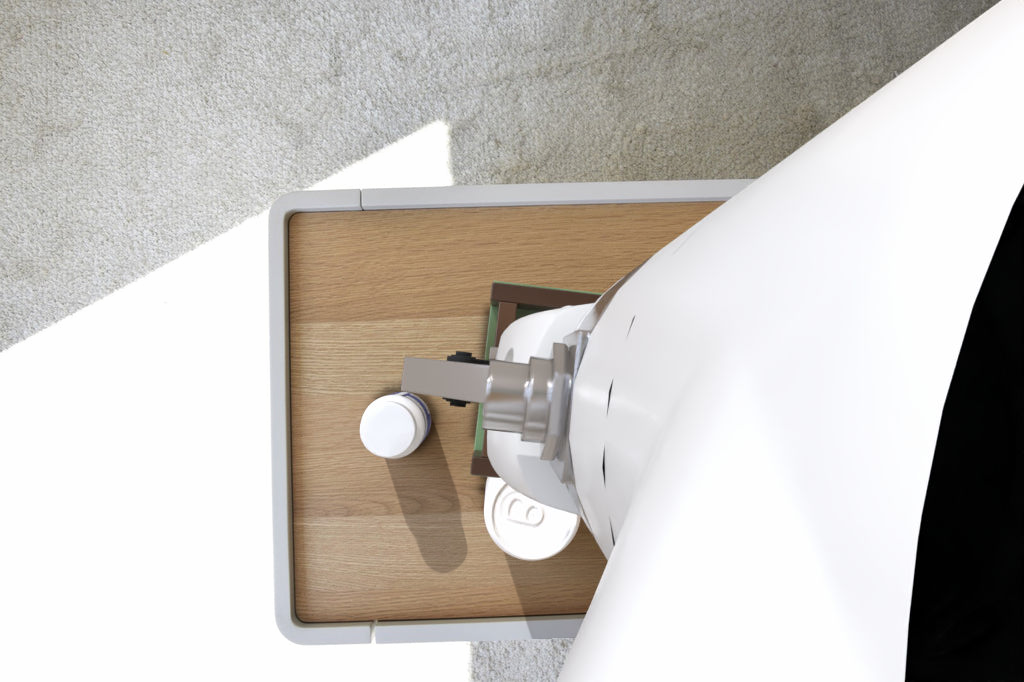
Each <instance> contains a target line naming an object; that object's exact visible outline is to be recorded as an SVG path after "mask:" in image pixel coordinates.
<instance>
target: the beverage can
mask: <svg viewBox="0 0 1024 682" xmlns="http://www.w3.org/2000/svg"><path fill="white" fill-rule="evenodd" d="M483 504H484V505H483V517H484V524H485V527H486V531H487V532H488V534H489V536H490V538H491V539H492V541H493V542H494V543H495V545H496V546H497V547H498V548H499V549H500V550H501V551H503V552H504V553H506V554H507V555H509V556H510V557H513V558H516V559H519V560H522V561H530V562H531V561H533V562H534V561H535V562H536V561H542V560H546V559H549V558H551V557H553V556H555V555H558V554H559V553H561V552H562V551H563V550H565V549H566V548H567V546H569V544H571V542H572V540H573V539H574V538H575V536H576V534H577V532H578V529H579V527H580V524H581V518H582V517H581V516H580V515H576V514H572V513H569V512H565V511H562V510H559V509H555V508H552V507H549V506H546V505H543V504H541V503H538V502H536V501H534V500H532V499H530V498H528V497H526V496H524V495H522V494H521V493H519V492H517V491H515V490H514V489H512V488H511V487H510V486H509V485H508V484H506V483H505V482H504V481H503V480H502V479H501V478H493V477H486V482H485V492H484V503H483Z"/></svg>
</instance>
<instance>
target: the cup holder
mask: <svg viewBox="0 0 1024 682" xmlns="http://www.w3.org/2000/svg"><path fill="white" fill-rule="evenodd" d="M490 290H491V291H490V296H489V297H490V308H489V316H488V324H487V332H486V333H487V334H486V341H485V350H484V357H483V358H484V359H483V360H488V359H489V350H490V347H499V343H500V339H501V336H502V334H503V332H504V331H505V330H506V329H507V328H508V327H509V325H510V324H512V323H513V322H515V321H516V320H518V319H520V318H522V317H525V316H528V315H531V314H534V313H538V312H543V311H548V310H553V309H559V308H562V307H565V306H577V305H584V304H591V303H595V302H596V301H597V300H598V299H599V298H600V297H601V296H602V295H603V294H604V293H605V292H595V291H585V290H577V289H569V288H560V287H551V286H543V285H534V284H525V283H518V282H508V281H499V280H493V282H491V289H490ZM489 361H490V360H489ZM482 411H483V403H478V411H477V412H478V413H477V420H476V429H475V437H474V445H473V453H472V456H471V463H470V472H469V473H470V475H471V476H475V477H485V478H488V477H493V478H500V476H499V475H498V474H497V473H496V471H495V470H494V468H493V467H492V465H491V462H490V460H489V458H488V454H487V430H483V429H482V424H483V416H482Z"/></svg>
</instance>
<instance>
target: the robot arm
mask: <svg viewBox="0 0 1024 682" xmlns="http://www.w3.org/2000/svg"><path fill="white" fill-rule="evenodd" d="M603 293H604V294H603V295H602V296H601V297H600V298H599V299H598V300H597V301H596V302H595V303H591V304H584V305H577V306H565V307H562V308H559V309H553V310H548V311H543V312H538V313H534V314H531V315H528V316H525V317H522V318H520V319H518V320H516V321H515V322H513V323H512V324H510V325H509V327H508V328H507V329H506V330H505V331H504V332H503V334H502V336H501V339H500V343H499V347H490V350H489V359H488V360H484V359H482V358H481V359H480V358H477V357H476V356H473V352H469V351H462V350H461V351H460V350H456V351H455V354H450V355H446V360H443V359H436V358H435V359H434V358H423V357H417V356H416V357H415V356H406V355H405V356H404V359H403V367H402V377H401V385H400V392H408V393H412V394H420V395H425V396H432V397H438V398H441V399H442V400H443V401H444V400H445V402H449V406H450V407H455V408H466V407H467V405H470V404H472V403H473V404H479V403H483V411H482V416H483V424H482V429H483V430H487V454H488V458H489V460H490V462H491V465H492V467H493V468H494V470H495V471H496V473H497V474H498V475H499V476H500V478H501V479H502V480H503V481H504V482H505V483H506V484H508V485H509V486H510V487H511V488H512V489H514V490H515V491H517V492H519V493H521V494H522V495H524V496H526V497H528V498H530V499H532V500H534V501H536V502H538V503H541V504H543V505H546V506H549V507H552V508H555V509H559V510H562V511H565V512H569V513H572V514H576V515H580V516H581V518H582V520H583V522H584V524H585V525H586V527H587V529H588V530H589V532H590V534H591V535H592V537H593V539H594V540H595V542H596V544H597V545H598V547H599V549H600V551H601V552H602V554H603V555H604V557H605V559H606V560H607V563H606V566H605V567H604V571H603V573H602V575H601V577H600V580H599V582H598V585H597V587H596V590H595V592H594V595H593V598H592V600H591V602H590V605H589V606H588V610H587V611H586V614H585V616H584V617H583V620H582V622H581V625H580V627H579V629H578V631H577V634H576V636H575V638H574V640H573V644H572V645H571V647H570V650H569V652H568V655H567V656H566V659H565V661H564V663H563V665H562V668H561V670H560V672H559V675H558V677H557V679H556V681H555V682H1024V0H1000V1H998V2H997V3H995V4H994V5H993V6H992V7H990V8H989V9H987V10H986V11H985V12H983V13H982V14H980V15H979V16H978V17H976V18H975V19H974V20H972V21H971V22H970V23H968V24H967V25H966V26H964V27H963V28H961V29H960V30H959V31H957V32H956V33H954V34H953V35H952V36H950V37H949V38H948V39H946V40H945V41H943V42H942V43H941V44H940V45H938V46H937V47H935V48H934V49H933V50H932V51H930V52H929V53H927V54H926V55H925V56H923V57H922V58H920V59H919V60H918V61H916V62H915V63H914V64H912V65H911V66H910V67H908V68H907V69H905V70H904V71H903V72H901V73H900V74H899V75H897V76H896V77H894V78H893V79H892V80H890V81H889V82H887V83H886V84H885V85H884V86H882V87H881V88H879V89H878V90H877V91H876V92H874V93H873V94H871V95H870V96H869V97H867V98H865V100H863V101H862V102H860V103H859V104H858V105H856V106H855V107H854V108H852V109H851V110H849V111H848V112H846V113H845V114H844V115H843V116H841V117H840V118H839V119H836V121H834V122H833V123H832V124H830V125H829V126H828V127H827V128H824V130H822V131H821V132H819V133H818V134H817V135H816V136H814V137H812V138H811V139H810V140H808V141H807V142H806V143H804V144H803V145H802V146H800V147H799V148H798V149H796V150H795V151H794V152H792V153H791V154H789V155H788V156H786V157H785V158H784V159H783V160H782V161H780V162H778V163H777V164H776V165H775V166H773V167H771V168H770V169H769V170H768V171H766V172H765V173H763V174H762V175H761V176H760V177H758V178H757V179H755V180H754V181H753V182H752V183H750V184H748V185H747V186H746V187H745V188H742V189H741V190H740V191H739V192H737V193H736V194H735V195H734V196H732V197H730V198H729V199H728V200H726V201H725V202H724V203H722V204H721V205H719V206H718V207H717V208H715V209H714V210H713V211H711V212H710V213H708V214H707V215H706V216H705V217H703V218H702V219H701V220H699V221H698V222H696V223H695V224H693V225H692V226H691V227H690V228H688V229H687V230H685V231H684V232H683V233H681V234H680V235H679V236H677V237H676V238H675V239H673V240H672V241H671V242H669V243H668V244H666V245H665V246H664V247H662V248H661V249H659V250H658V251H656V252H655V253H654V254H652V255H651V256H650V257H648V258H647V259H646V260H644V261H643V262H641V263H640V264H639V265H638V266H636V267H635V268H634V269H632V270H630V271H629V272H628V273H626V274H625V275H624V276H623V277H620V279H618V280H617V281H616V282H615V283H614V284H613V285H611V286H610V287H609V288H608V289H607V290H606V291H605V292H603ZM489 360H490V361H489Z"/></svg>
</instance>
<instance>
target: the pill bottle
mask: <svg viewBox="0 0 1024 682" xmlns="http://www.w3.org/2000/svg"><path fill="white" fill-rule="evenodd" d="M364 410H365V411H364V412H363V414H362V417H361V420H360V424H359V436H360V440H361V443H362V444H363V445H364V447H365V449H367V450H368V451H369V452H370V453H372V454H373V455H375V456H377V457H380V458H384V459H391V460H392V459H395V460H396V459H401V458H404V457H406V456H408V455H410V454H412V453H413V452H415V451H416V450H417V448H418V447H420V445H421V444H422V443H423V442H424V441H425V439H426V438H427V437H428V435H429V433H430V430H431V426H432V415H431V411H430V408H429V406H428V405H427V403H426V402H425V401H424V400H423V399H422V398H421V397H420V396H418V395H416V394H415V393H411V392H405V391H396V392H392V393H389V394H387V395H383V396H381V397H378V398H377V399H374V401H372V402H371V403H370V404H368V406H367V407H366V409H364Z"/></svg>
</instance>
